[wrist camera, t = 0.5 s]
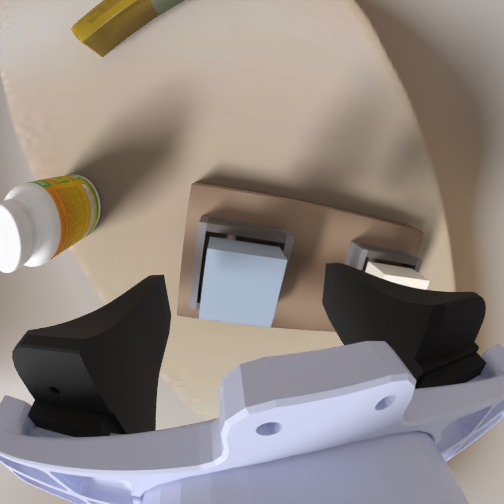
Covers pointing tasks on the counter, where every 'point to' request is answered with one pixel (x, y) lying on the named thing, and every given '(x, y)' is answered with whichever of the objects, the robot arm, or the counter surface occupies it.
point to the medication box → (116, 21)
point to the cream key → (398, 275)
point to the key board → (289, 246)
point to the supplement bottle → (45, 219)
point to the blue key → (241, 282)
